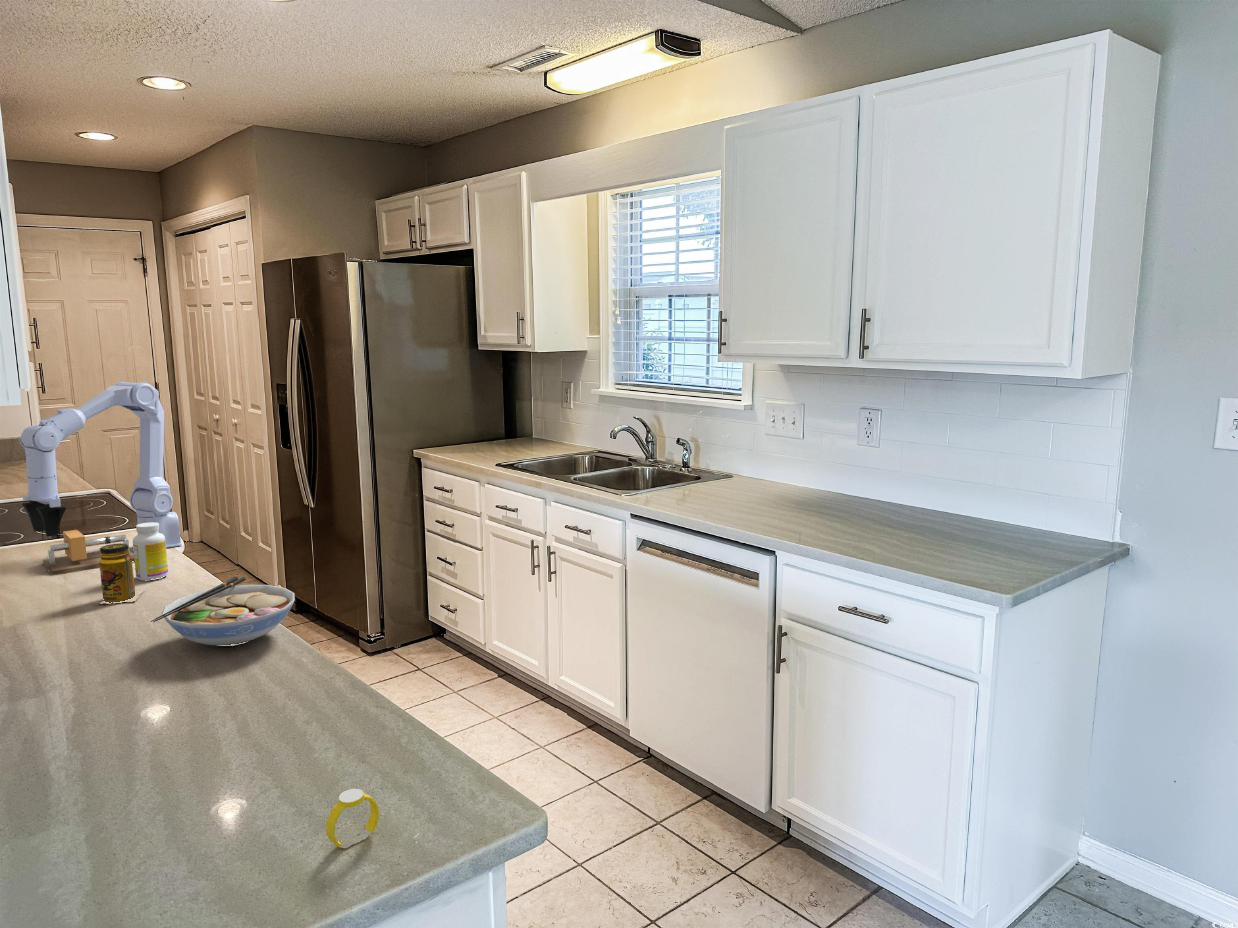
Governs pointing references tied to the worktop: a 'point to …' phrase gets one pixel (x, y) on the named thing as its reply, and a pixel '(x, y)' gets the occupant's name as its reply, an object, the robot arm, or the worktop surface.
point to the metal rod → (88, 543)
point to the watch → (351, 800)
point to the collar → (75, 545)
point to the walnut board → (75, 563)
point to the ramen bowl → (229, 612)
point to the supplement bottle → (149, 552)
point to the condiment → (116, 573)
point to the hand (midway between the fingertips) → (45, 533)
